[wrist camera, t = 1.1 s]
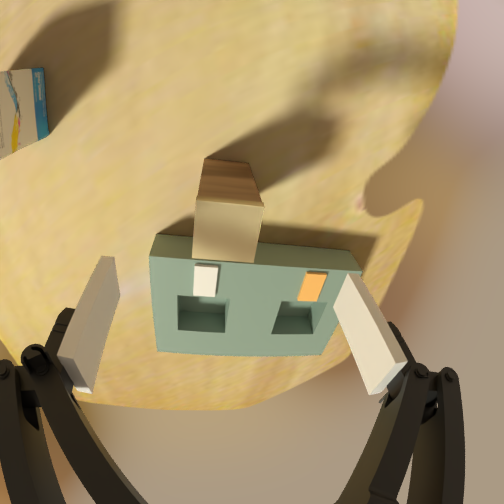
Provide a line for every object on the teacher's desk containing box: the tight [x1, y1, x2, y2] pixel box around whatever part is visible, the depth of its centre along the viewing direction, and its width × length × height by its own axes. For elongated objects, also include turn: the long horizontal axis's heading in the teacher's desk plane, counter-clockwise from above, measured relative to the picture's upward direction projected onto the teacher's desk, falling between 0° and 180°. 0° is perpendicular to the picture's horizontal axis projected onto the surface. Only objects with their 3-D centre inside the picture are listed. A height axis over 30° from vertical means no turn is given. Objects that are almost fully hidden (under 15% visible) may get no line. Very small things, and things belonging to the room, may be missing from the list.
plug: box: [192, 159, 265, 263], centre depth 25 cm, size 5×5×11 cm
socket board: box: [149, 234, 363, 356], centre depth 36 cm, size 16×24×5 cm, turn 81°
